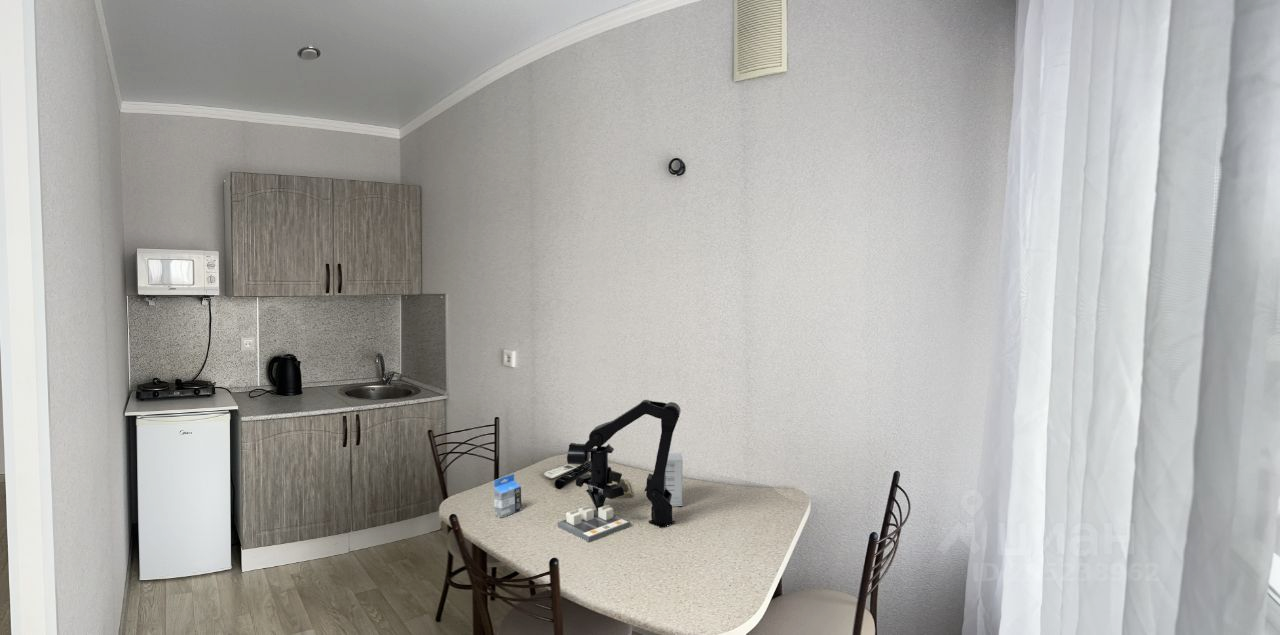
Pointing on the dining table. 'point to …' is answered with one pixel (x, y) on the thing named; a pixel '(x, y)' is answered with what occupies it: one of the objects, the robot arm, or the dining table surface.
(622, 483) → the computer
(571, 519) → the slider
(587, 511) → the slider middle
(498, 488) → the label tape box
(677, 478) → the small drawer cabinet
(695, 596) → the dining table surface
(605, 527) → the switch panel
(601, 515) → the slider
